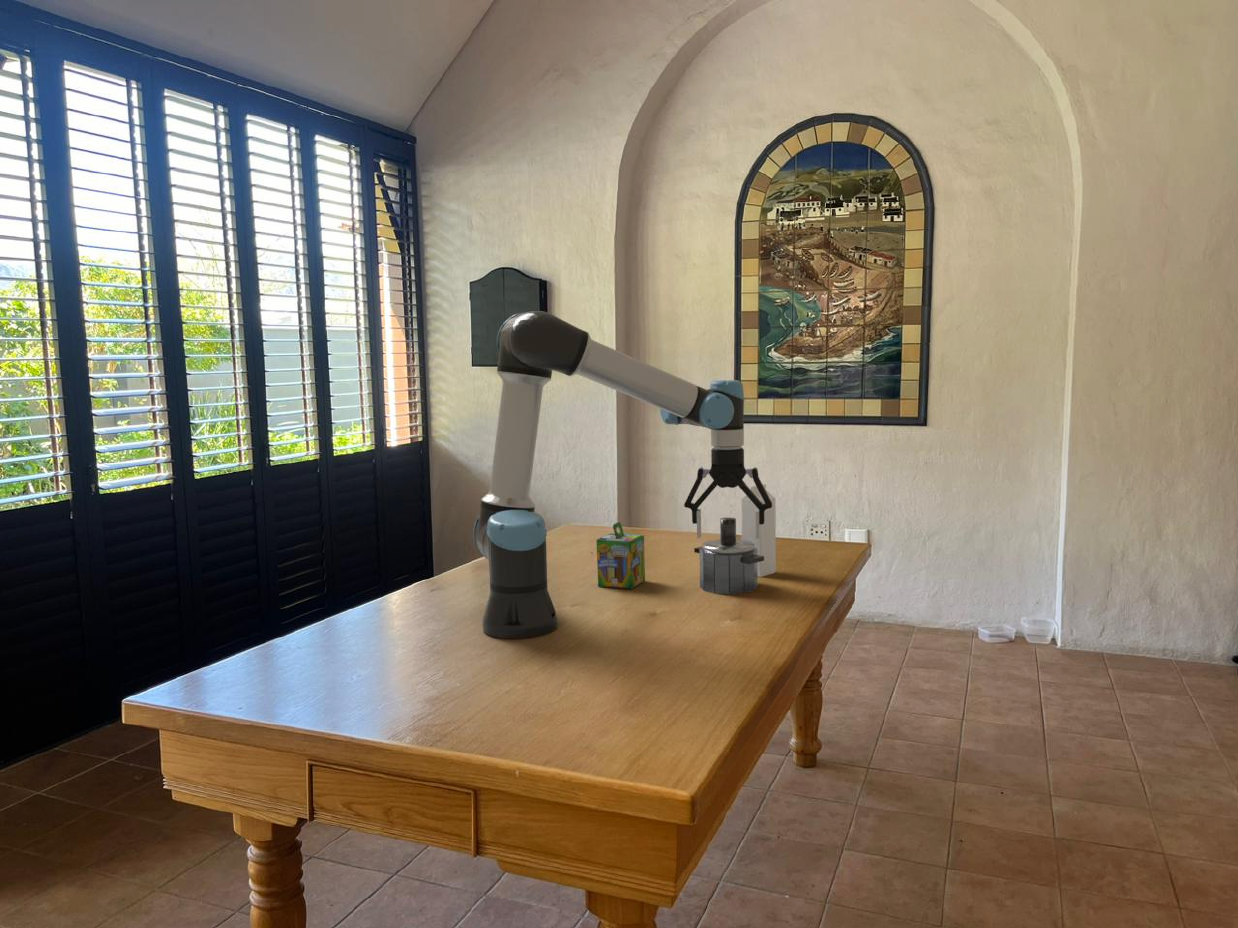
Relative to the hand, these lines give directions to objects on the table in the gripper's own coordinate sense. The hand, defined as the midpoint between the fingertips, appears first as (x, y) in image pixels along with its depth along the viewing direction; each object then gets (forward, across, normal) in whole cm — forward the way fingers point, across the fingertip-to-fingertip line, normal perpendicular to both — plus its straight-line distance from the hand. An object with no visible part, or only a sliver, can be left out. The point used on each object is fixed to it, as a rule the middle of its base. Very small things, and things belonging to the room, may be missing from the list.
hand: (728, 537), depth 219 cm
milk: (+12, -7, -14) cm, 20 cm away
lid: (+4, 0, 0) cm, 4 cm away
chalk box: (+12, +26, -1) cm, 28 cm away
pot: (+12, 0, 0) cm, 12 cm away
